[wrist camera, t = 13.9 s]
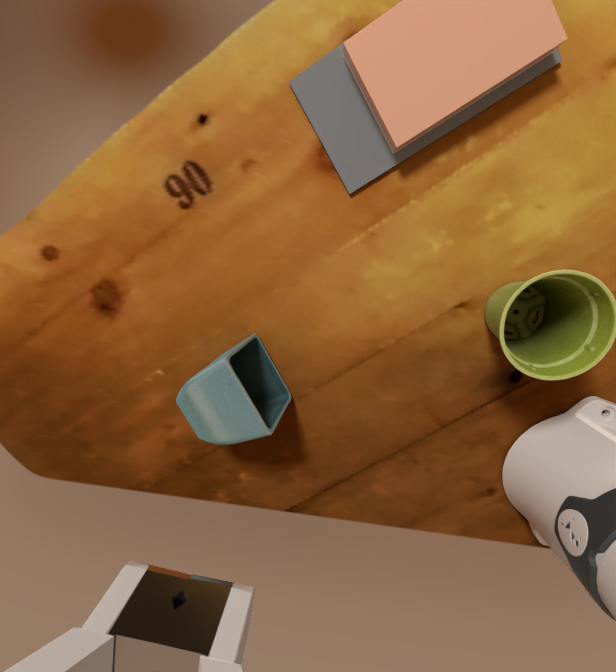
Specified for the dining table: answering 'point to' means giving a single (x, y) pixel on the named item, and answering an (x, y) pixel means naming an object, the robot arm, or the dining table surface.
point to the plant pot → (553, 323)
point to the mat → (359, 123)
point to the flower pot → (235, 396)
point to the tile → (445, 58)
